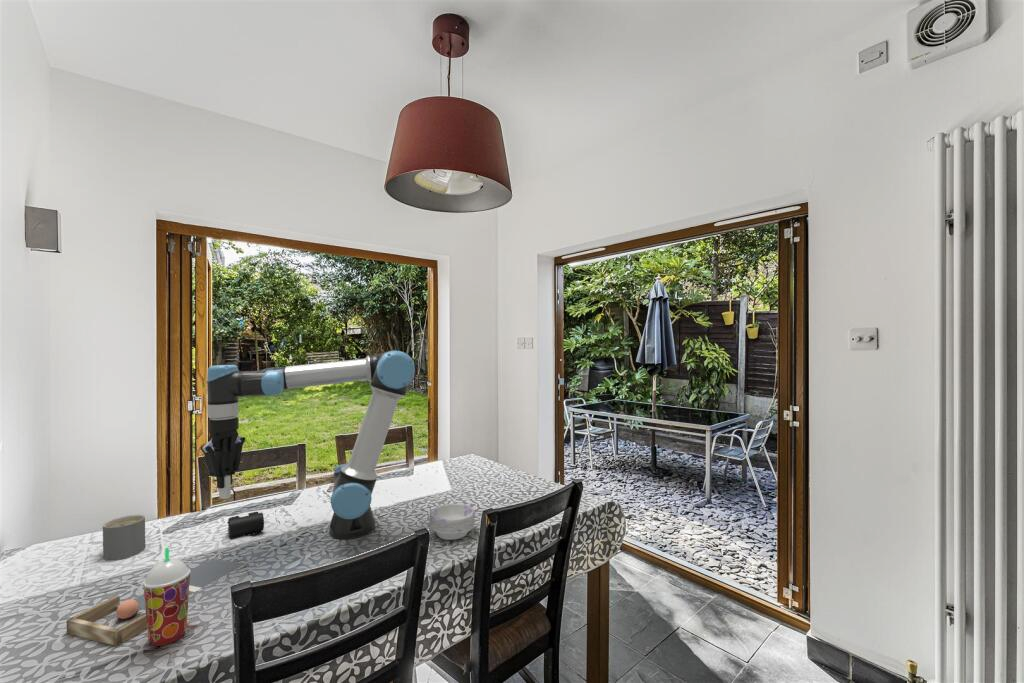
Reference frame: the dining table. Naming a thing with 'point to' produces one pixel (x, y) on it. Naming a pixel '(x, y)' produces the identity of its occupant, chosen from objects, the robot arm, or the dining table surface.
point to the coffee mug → (123, 537)
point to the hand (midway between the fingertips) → (225, 497)
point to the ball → (127, 609)
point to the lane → (202, 576)
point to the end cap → (245, 525)
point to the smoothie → (166, 600)
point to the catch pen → (101, 633)
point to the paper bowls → (452, 520)
